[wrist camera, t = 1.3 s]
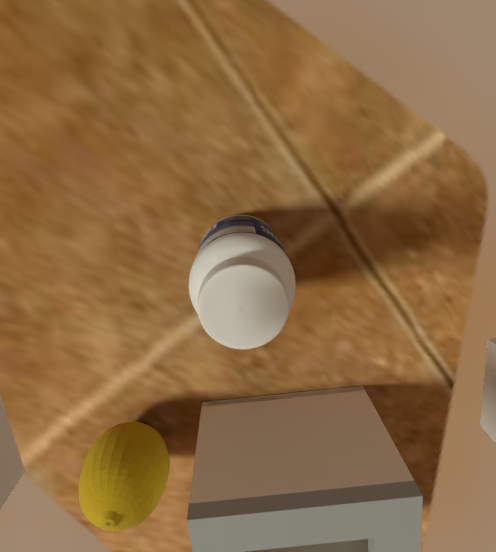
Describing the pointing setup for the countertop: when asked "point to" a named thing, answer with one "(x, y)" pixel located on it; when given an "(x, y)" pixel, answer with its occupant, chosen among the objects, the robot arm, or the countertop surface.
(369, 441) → the drop box
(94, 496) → the lemon
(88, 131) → the countertop surface
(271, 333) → the pill bottle
